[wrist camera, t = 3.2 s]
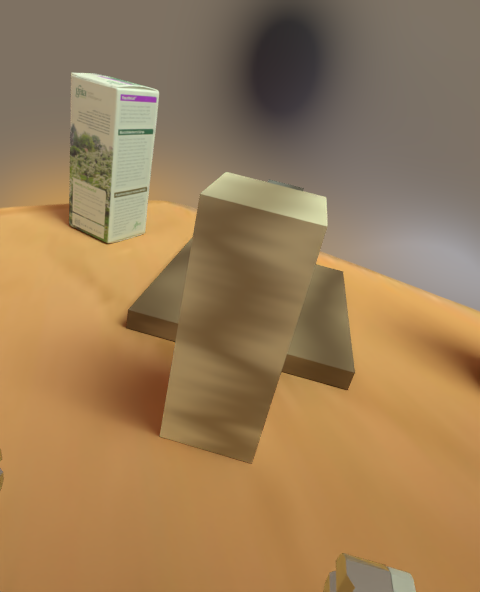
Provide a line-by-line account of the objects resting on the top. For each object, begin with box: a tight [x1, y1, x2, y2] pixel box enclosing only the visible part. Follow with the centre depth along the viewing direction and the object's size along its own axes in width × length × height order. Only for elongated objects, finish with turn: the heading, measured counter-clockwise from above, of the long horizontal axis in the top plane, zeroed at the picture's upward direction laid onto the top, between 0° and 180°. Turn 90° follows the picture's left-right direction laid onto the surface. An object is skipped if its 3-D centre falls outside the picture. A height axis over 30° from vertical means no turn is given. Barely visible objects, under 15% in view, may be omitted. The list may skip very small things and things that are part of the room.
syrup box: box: [69, 73, 159, 243], centre depth 41 cm, size 6×6×14 cm
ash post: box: [160, 172, 327, 464], centre depth 21 cm, size 5×5×13 cm
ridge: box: [126, 180, 355, 390], centre depth 36 cm, size 16×18×9 cm
